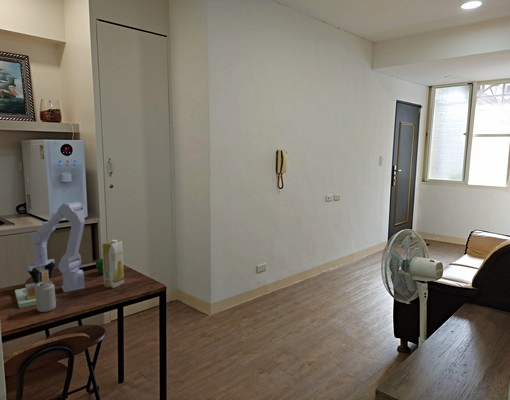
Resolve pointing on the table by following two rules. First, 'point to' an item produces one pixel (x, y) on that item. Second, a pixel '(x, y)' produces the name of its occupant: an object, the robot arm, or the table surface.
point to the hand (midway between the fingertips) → (42, 280)
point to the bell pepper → (99, 265)
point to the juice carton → (113, 263)
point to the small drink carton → (43, 275)
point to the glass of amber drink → (30, 291)
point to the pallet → (23, 298)
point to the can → (45, 296)
